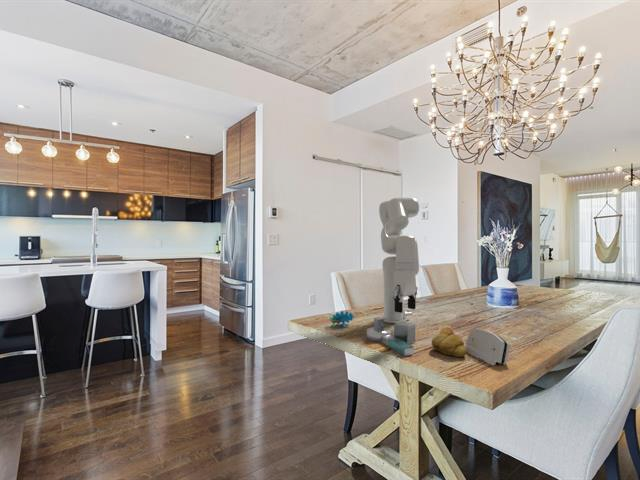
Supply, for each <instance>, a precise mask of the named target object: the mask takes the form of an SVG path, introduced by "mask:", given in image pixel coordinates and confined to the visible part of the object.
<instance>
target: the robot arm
mask: <svg viewBox="0 0 640 480" xmlns="http://www.w3.org/2000/svg"><path fill="white" fill-rule="evenodd" d="M419 212H420V203H419V200H417V199H416V198H414V197H393V198H391V199H390V200H386V201H383V202H381V203H380V204H379V209H378V213H379V218H380V221H381V224H382V226H383V227H382V228H381V230H380V231H381V232H380V241H381V249H382V251H383V253H386V254H387V255H391V256H387V257H385V258H384V259H383V260H382V265H381V266H382V272H383V315H382V316H380V317H381V318H383V319H384V323H389V324H397V323H399V322H406V323H407V321H408V320H407V316H408V317H410V316H412V315H413V312H412V311H405V310H404V307H405V305H404V303H405V302H404V298H406V297H408V298H407V309H410V310H416V302H417V301H416V299H417V295H418V289H419V288H418V286H417V279H416V277H417V275H418V274H419V272H420V262H419V261H420V260H419V247H418V241H417V238H416V237H415V236H413V235H402V230H404V229H406V228H407V227H408V225H409V223H410V222H409V219H410V218H414V217H416V216H417V215H418V214H419ZM392 255H393V256H392Z"/></svg>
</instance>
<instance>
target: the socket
mask: <svg viewBox="0 0 640 480" xmlns="http://www.w3.org/2000/svg"><path fill="white" fill-rule="evenodd" d="M393 337H394V338H399V339H400V340H402V341H404V342H406V343H408V344H410V345H412V344H414V343H416V324H415V323H412V322H407V321H406V322H399V323H393Z"/></svg>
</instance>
